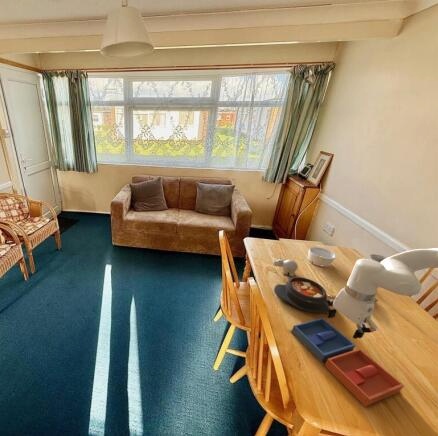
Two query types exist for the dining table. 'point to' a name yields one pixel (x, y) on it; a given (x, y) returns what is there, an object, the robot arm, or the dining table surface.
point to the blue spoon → (322, 337)
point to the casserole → (303, 294)
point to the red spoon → (362, 374)
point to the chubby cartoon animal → (287, 266)
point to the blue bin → (330, 346)
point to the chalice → (377, 257)
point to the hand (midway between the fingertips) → (342, 326)
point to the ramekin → (320, 260)
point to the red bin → (373, 386)
